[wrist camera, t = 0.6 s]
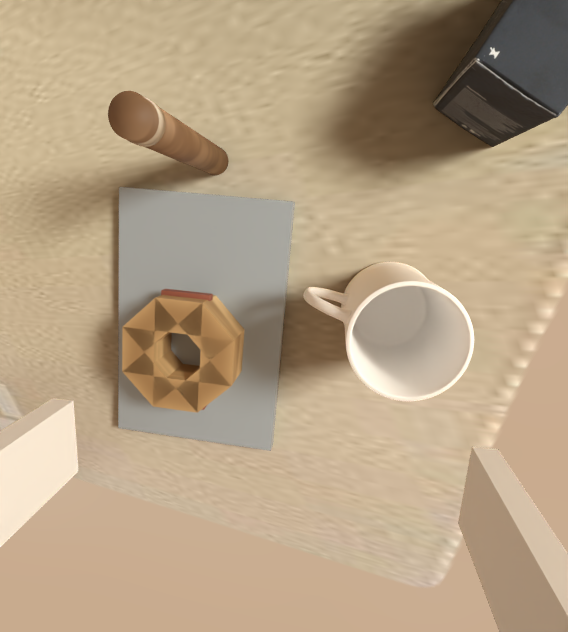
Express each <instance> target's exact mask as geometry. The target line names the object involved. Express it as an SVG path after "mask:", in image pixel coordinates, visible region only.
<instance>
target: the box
mask: <svg viewBox="0 0 568 632" xmlns="http://www.w3.org/2000/svg"><path fill="white" fill-rule="evenodd" d="M433 105H434V106H435V108H436V109H437V110H438V111H440V112H441V113H443V114H444V115H445V116H447V117H448V118H449V119H451V120H452V121H454V122H455V123H456V124H458V125H459V126H461V127H462V128H463V129H465V130H467V131H468V132H470V133H471V134H473V135H474V136H476V137H477V138H479V139H481V140H482V141H484V142H486V143H487V144H489V145H490V146H492V147H494V146H496V145H498V144H500V143H502V142H504V141H506V140H508V139H510V138H513V137H515V136H517V135H519V134H521V133H523V132H526V131H527V130H529V129H532V128H534V127H536V126H538V125H540V124H542V123H544V122H547V121H549V120H551V119H553V118H556V117H558V116H559V115H560V114H561V113H562V111H563V110H564V109H565V108H566V106H567V105H568V0H502V1H501V2H500V4H499V6H498V7H497V9H496V10H495V12H494V13H493V15H492V16H491V18H490V19H489V21H488V23H487V24H486V26H485V27H484V29H483V30H482V31H481V33H480V35H479V36H478V38H477V39H476V41H475V42H474V44H473V45H472V46H471V48H470V50H469V51H468V52H467V54H466V55H465V57H464V58H463V60H462V61H461V63H460V64H459V66H458V67H457V69H456V70H455V72H454V73H453V75H452V76H451V78H450V79H449V80H448V82H447V84H446V85H445V86H444V88H443V90H442V91H441V93H440V94H439V95H438V97H437V98H436V100H435V101H434V102H433Z"/></svg>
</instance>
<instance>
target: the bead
mask: <svg viewBox="0 0 568 632" xmlns="http://www.w3.org/2000/svg"><path fill="white" fill-rule="evenodd" d="M244 331H245V329H244V328H243V327H242V326H241V325H240V323H239V322H238V321H237V320H236V319H235V317H234V316H233V315H232V314H231V313H230V311H229V310H228V309H227V308H226V307H225V306H224V304H223V303H222V302H221V301H220V300H219V298H218V297H217V296H216V295H213V294H210V293H201V292H192V291H183V290H174V289H163V290H161V296H158V297H156V298H154V299H153V300H152V301H151V302H150V303H149V304H148V305H146V306H145V307H144V308H143V309H142V310H141V311H140V312H139V313H137V314H136V315H135V316H134V317H133V318H132V319H131V320H130V321H129V322H127V323H126V324H125V325H124V326H123V328H122V372H123V373H124V374H125V375H126V376H127V378H128V379H129V380H130V381H131V382H132V383H133V384H134V386H135V387H136V388H137V389H138V390H139V391H140V392H141V393H142V395H143V396H144V397H145V398H146V399H147V400H148V401H149V403H150V404H151V405H152V406H153V407H160V408H167V409H174V410H181V411H189V412H196V413H198V412H199V411H200V410H204V409H205V408H206V406H207V405H208V404H209V403H210V402H212V401H213V400H214V399H216V398H217V397H218V396H219V395H221V394H222V393H223V392H225V391H226V390H227V389H229V388H230V387H231V386H232V385H233V383H234V382H235V380H236V379H237V377H238V376H239V374H240V373H241V371H242V359H243V345H244ZM172 333H179V334H187V335H188V336H189V337H190V338H191V339H192V340H193V342H194V343H195V344H196V345H197V346H198V347H199V349H200V350H201V352H200V366H197V365H189V364H183V363H182V362H181V361H180V360H179V359H178V357H177V356H176V355H175V354H174V353H173V352H172V350H171V339H172Z"/></svg>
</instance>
